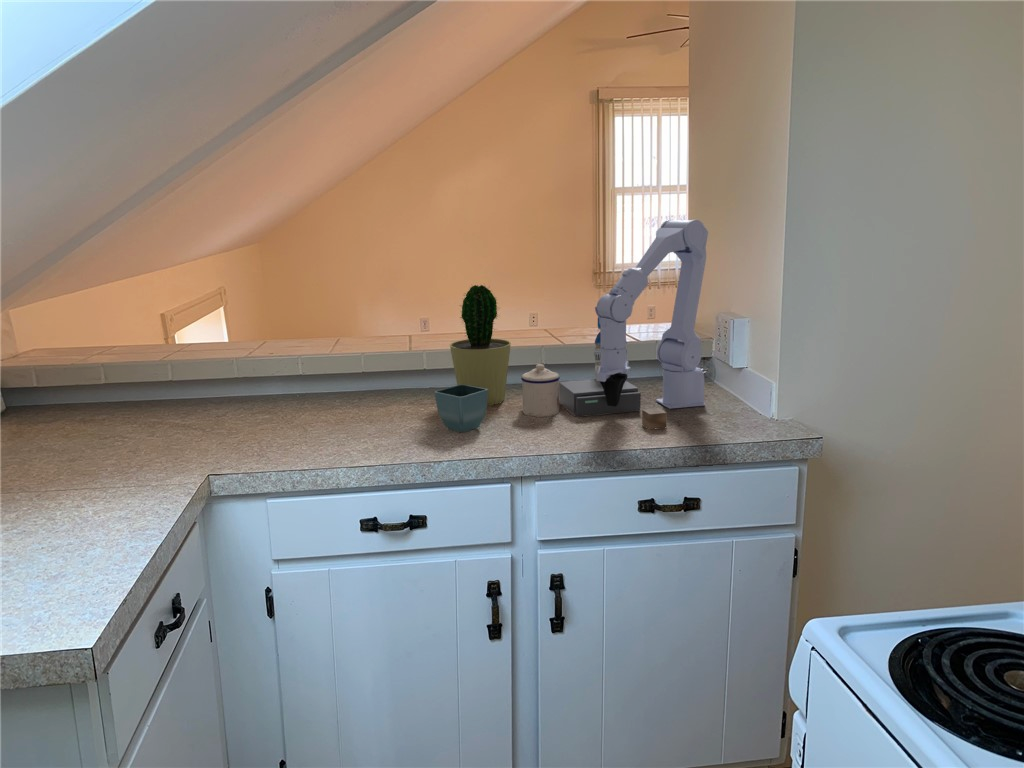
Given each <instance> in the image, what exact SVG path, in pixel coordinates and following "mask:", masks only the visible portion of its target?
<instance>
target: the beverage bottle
mask: <svg viewBox="0 0 1024 768" xmlns="http://www.w3.org/2000/svg"><path fill="white" fill-rule="evenodd" d="M597 329H598V330H600V331H599V332H598V333H597V335H596V337H595V339H594V344H595V348H594V352H593V354H594V379H597V372H598V371H599V367H600V366H601V326H600V324H599V317H598V316H597ZM626 344H627V340H626ZM627 356H628V350H627V349H626V357H627ZM621 374H627V372H626V371H624V372H621Z"/></svg>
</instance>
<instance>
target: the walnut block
mask: <svg viewBox="0 0 1024 768" xmlns="http://www.w3.org/2000/svg"><path fill="white" fill-rule="evenodd" d="M641 415H642V416H641V418H642V421H641V425H642V424H643V425H644V426H643V425H642V426H643V427H645V428H646V427H647V428H646V429H648V428H649V429H652V430H656V429H655V428H662V429H666V428H667V423H668V422H667V419H668V418H667V417H668V416H667V415H668V414H667V412H666V411H664V410H663V409H661V408H659V407H657V408H647V409H642V414H641ZM665 427H666V428H665ZM649 429H648V430H649Z"/></svg>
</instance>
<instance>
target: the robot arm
mask: <svg viewBox="0 0 1024 768" xmlns="http://www.w3.org/2000/svg"><path fill="white" fill-rule="evenodd" d="M708 236H709V230H708V229H707V228H706V227H705V225H704V222H702V221H701V220H699V219H692V220H691V219H685V220H684V219H677V220H675V219H666V220H664V221H663V222H662V224H661V225H660V227H659V228H658V229H657V230H656V231H655V238H654V240H653V241H652V243H651V244H650V245H649V247H648V249H646V251H645V253H644V254H643V256H642V257H641V259H640V261H639V262H638V263H637V265H636V266H635V267H630V268H628V269H626V270H624V271H622V273H621V277H620V279H618V281H617V282H616V283H615V284H614V286H613V287H611V288H610V290H609V292H608V293H606V294H603V295H602V296H601V297H600V298H599V299H598V301H597V304H596V306H594V309H595V311H594V312H595V314H596V316H597V318H598V317H599V324H600V326H601V366H600V367H599V371H598V372H597V379H596V381H600V383H601V385H602V387H603V390H604V393H605V397H606V401H607V405H608V406H617V405H618V403H619V399H620V395H621V391H622V388H623V385H624V383H625V381H627V379H628V374H627V372H630V371H631V367H630V366H629V360H627V356H626V350H627V343H626V341H627V320H628V319H629V318H630V317H632V313H633V308H634V305H635V301H637V299H638V298H639V296H641V294H642V293H643V291H644V290H645V289H646V288H647V287H648V284H649V280H648V279H649V278H648V277H649V276H650V275H651V274H652V272H654V270H655V269H656V268H657V267H658V266H659V265H660V263H662V262H663V260H664V259H665V258H666V257H667V256H668V255H669V254H670V253H673V254H675V255H676V257H678V259H679V260H680V262H681V263H680V269H679V275H678V280H677V281H678V282H677V288H676V293H675V300H674V306H673V311H672V317H671V318H672V319H671V324H670V327H669V328H667V330H665V331H664V332H663V333H662V336H661V339H660V342H659V344H658V346H657V349H656V358H657V360H658V361H659V362H660V363H661V364H660V365H661V368H663V370H662V398H656V400H655V401H656V402H657V403H659V404H660V405H663V406H664V407H665V408H668V409H681V408H682V409H683V408H692V407H694V408H695V407H702V406H706V403H705V402H704V401H705V374H704V371H703V369H702V368H700V367H698V366H699V364H700V362H701V360H702V349H701V343H702V340H701V338H700V336H699V335H698V334H697V332H696V331H695V327H696V320H697V313H698V308H699V303H700V296H701V292H702V291H701V290H702V285H703V279H704V274H705V273H704V272H705V268H706V260H707V247H706V246H707V241H708ZM624 371H626V374H621V372H624Z"/></svg>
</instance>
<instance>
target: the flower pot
mask: <svg viewBox="0 0 1024 768" xmlns="http://www.w3.org/2000/svg"><path fill="white" fill-rule="evenodd" d="M433 395H434V398H435V403H436V404H435V405H436V409H437V412H438V415H439V417H440V420H441V422H442V423H443V425H444V426H445V427H446V428H447V429H448V430H451V431H455V432H458V433H461V434H462V433H466V432H469V431H472V430H476V429H477V428H479V427H480V425H481V424H482V422H483V420H484V419H485V416H486V412H487V408H488V406H487V397H488V389H485V388H479V387H474V386H469V385H463V384H461V385H457V384H456V385H454V386H450V387H445V388H442V389H438V390H435V391H434V393H433Z"/></svg>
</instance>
